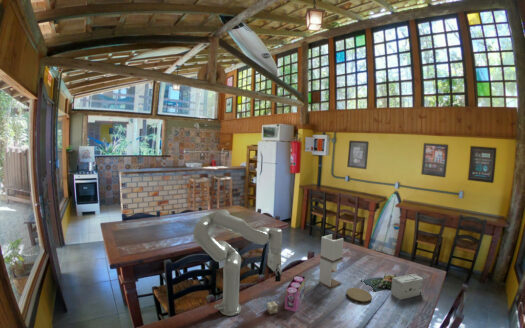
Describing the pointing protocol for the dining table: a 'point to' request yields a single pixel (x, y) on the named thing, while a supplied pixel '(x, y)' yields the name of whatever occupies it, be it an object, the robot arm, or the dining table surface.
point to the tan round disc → (359, 295)
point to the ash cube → (272, 307)
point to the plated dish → (380, 283)
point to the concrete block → (406, 286)
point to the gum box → (295, 293)
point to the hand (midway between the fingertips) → (274, 277)
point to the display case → (330, 260)
